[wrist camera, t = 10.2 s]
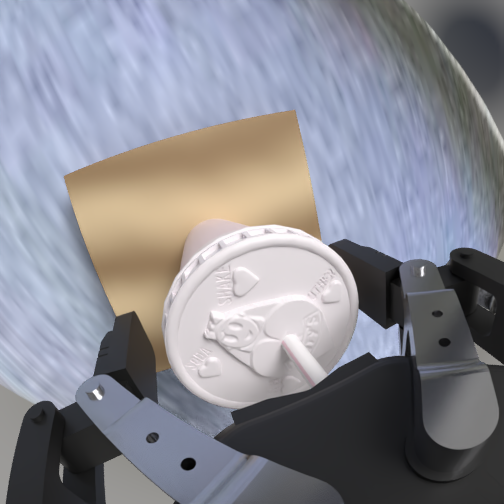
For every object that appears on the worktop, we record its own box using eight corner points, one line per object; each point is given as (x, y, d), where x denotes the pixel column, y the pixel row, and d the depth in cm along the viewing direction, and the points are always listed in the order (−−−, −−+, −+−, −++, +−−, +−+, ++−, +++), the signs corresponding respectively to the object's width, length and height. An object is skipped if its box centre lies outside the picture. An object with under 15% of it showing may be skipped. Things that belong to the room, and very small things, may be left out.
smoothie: (246, 308, 19) (367, 493, 6) (148, 285, 17) (153, 521, 4) (281, 214, 18) (492, 319, 5) (180, 179, 16) (258, 244, 3)
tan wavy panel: (77, 174, 17) (63, 176, 14) (277, 116, 19) (294, 109, 16) (147, 351, 21) (147, 374, 19) (312, 293, 24) (331, 309, 21)
